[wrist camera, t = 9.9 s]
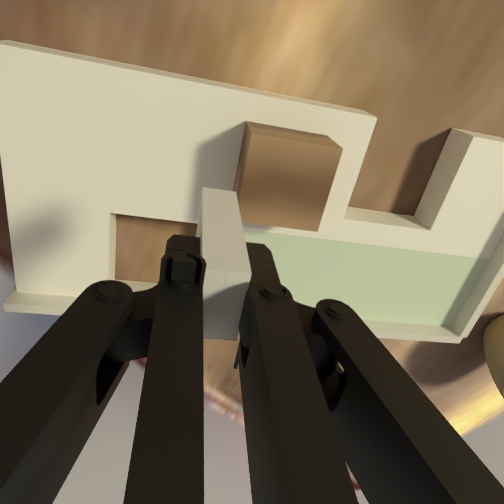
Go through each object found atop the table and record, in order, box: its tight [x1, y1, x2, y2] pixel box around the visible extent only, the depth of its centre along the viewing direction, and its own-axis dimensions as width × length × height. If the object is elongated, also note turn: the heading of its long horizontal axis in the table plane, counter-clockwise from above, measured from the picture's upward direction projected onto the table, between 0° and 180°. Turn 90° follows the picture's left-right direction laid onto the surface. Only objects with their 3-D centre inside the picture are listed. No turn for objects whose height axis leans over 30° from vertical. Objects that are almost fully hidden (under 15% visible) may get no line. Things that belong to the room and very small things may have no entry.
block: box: [233, 121, 343, 232], centre depth 27 cm, size 6×6×4 cm
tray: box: [0, 40, 504, 344], centre depth 32 cm, size 19×41×4 cm, turn 79°
